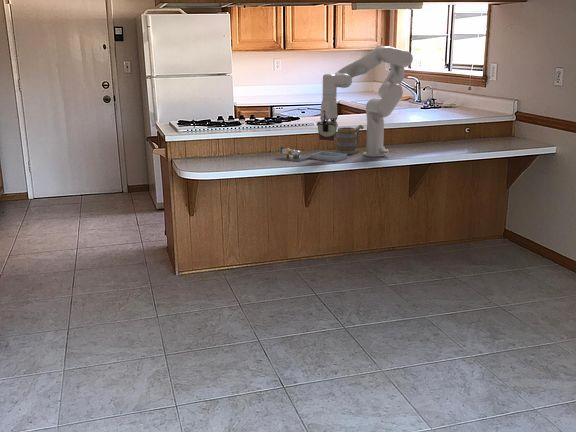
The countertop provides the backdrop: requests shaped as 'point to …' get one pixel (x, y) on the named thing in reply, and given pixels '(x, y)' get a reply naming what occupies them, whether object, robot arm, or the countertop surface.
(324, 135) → the food container
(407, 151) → the countertop surface
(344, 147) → the tankard
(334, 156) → the tray
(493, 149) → the countertop surface
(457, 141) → the countertop surface
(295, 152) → the crank lever
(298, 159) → the crank base
